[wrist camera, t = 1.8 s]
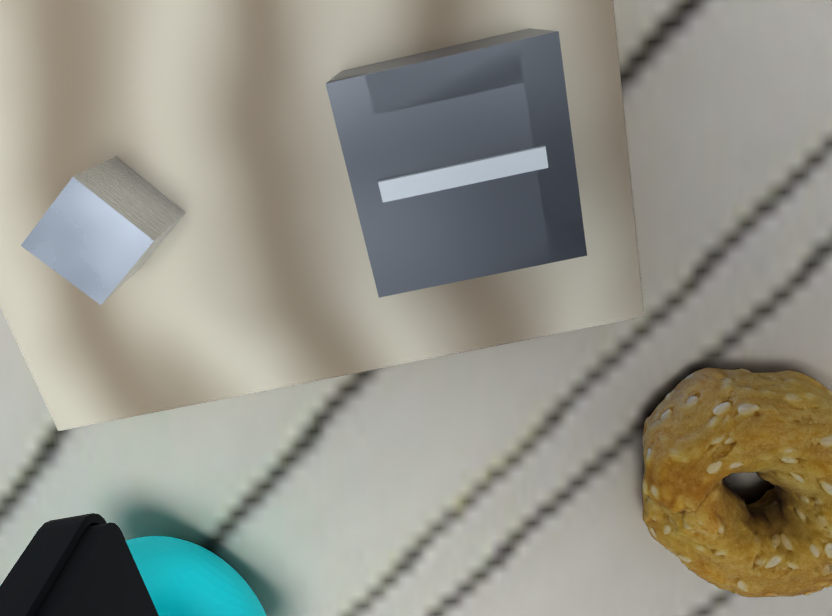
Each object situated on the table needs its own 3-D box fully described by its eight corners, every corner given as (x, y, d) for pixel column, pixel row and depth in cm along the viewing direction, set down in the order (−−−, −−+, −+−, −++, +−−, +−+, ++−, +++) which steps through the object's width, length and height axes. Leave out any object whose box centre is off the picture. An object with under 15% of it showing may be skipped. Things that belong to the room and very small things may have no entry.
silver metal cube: (116, 155, 25) (72, 176, 22) (186, 212, 26) (154, 240, 23) (69, 217, 26) (20, 245, 23) (138, 270, 27) (100, 305, 23)
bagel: (779, 304, 29) (845, 355, 25) (890, 480, 33) (965, 553, 28) (575, 433, 32) (602, 501, 27) (698, 585, 35) (741, 668, 30)
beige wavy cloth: (585, -148, 23) (597, -159, 22) (632, 302, 29) (644, 317, 28) (-105, 18, 25) (-135, 19, 23) (74, 412, 31) (58, 430, 29)
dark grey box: (529, 28, 24) (559, 31, 19) (555, 213, 26) (588, 257, 21) (341, 70, 24) (324, 84, 19) (384, 248, 26) (378, 300, 22)
